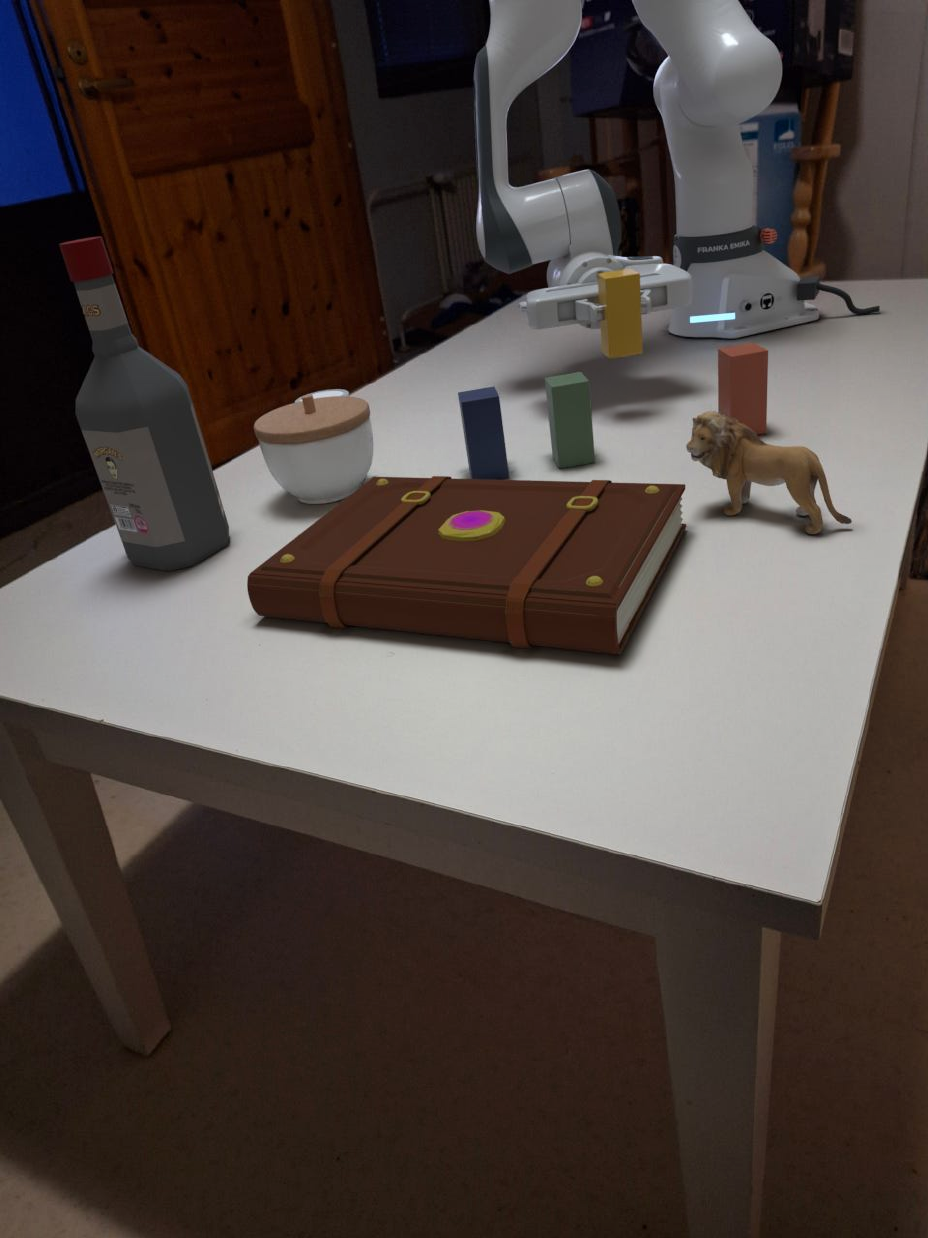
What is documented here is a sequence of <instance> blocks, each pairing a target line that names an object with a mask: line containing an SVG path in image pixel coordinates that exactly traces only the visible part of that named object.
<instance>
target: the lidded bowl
mask: <svg viewBox="0 0 928 1238" xmlns="http://www.w3.org/2000/svg"><path fill="white" fill-rule="evenodd" d="M309 394H310V393H309ZM301 397H302V401H300V402H296V403H295V402H293V403H290V404H289V403H288V404H285V405H283V406H280V407H278V408H275V409H273V410H271V411H269V412H267V413H265V414H263V415H262V416H260V417H259V418H258V419H256V420H255V421H254V425H253V430H254V434H255V437H256V439H257V440H258V444H259V447H260V451H261V454H262V457H263V459H264V463H265V464H266V467H267V468H268V470H269V472H270V475H272V477H273V479H274V480H275V481H276V483H277V484H278V485H279V486H280V487H281V488H282V489H283V490H284V491H286V492H288V493H289V494H290V495H292V496H294V497H296V498H297V500H298V501H299V502H300V503H303V504H306V505H324V504H330V503H335V502H339V501H343V500H344V499H346V498H347V497H348V496H350V495H351V494H352V493H353V492H355V491H356V490H357V489H358V488H360V487H361V484H362V482H363V481H364V480H365V478H366V477H367V475H368V473H369V472H370V469H371V467H372V463H373V458H374V445H375V444H374V433H373V426H372V421H371V408H370V405H369V402H368V401H366V400H365V399H364V398H362V397H356V396H350V395H349V396H332V397H322V398H315V399H313V395H311V394H310V395H307V394H305V395H302V396H301Z"/></svg>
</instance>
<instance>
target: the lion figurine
mask: <svg viewBox="0 0 928 1238" xmlns="http://www.w3.org/2000/svg"><path fill="white" fill-rule="evenodd" d="M691 420H692V427H691V439H690V440H689V441H688V442H687V443H686V445H685V448H686V451H687V452H688V453H690V458H691V460H692V461H693V462H699V463H700V464H701V465H702V466H704V467H706V468H708V469H709V470H711V472H712V476H713V477H715V478H718V479H723V480H726V486H727V492H728V495H729V498H730V501H731V505H728V506H726V507H725V508H724V510H723V512H724V514H725V515H726V516H735V515H737V514H739V513H740V512H741V510H742V508H743V505H745V504H747V503H749V501H750V498H751V488H752V483H754V484H757V485H761V486H765V487H775V486H780V485H783V484H785V487H786V489H787V491H788V493H789V495H790V496H791V498H792V500H793V501H794V502H795V503H796V504H797V505H798V507H797V508H796V509H795V514H796V515H798V516H809V517H810V519H811V521H812V522H811V523H810V522H809V523H807V524H806V525H805V533H806V534H808V535H816V534H818V533H820V532H821V531H822V529H823V526H824V522H823V515H822V509H821V507H820V506H819V505H818V504H817V501H816V497H815V490H816V486H817V484H819V487H820V491H821V493H822V497H823V500H824V501H823V502H824V503H825V505H826V508H827V510H828V512H829V513H830V515H831V516H832V517H833V518H834V520H835V521H836V522H838V523H839V524H842V525H843V524H844V525H849V524H852V523H853V521H852V519H851V518H850V517H848V516H847V515H844V514H842V513H840V512H839V511H838V510H836V508H835V507H834V505H833V501H832V497H831V494H830V490H829V484H828V480H827V476H826V473H825V470H824V468H823V466H822V464H821V462H820V458H819V457H818V455H817V454H816V452H814V451H813V450H811V449H809V448H808V447H805V446H803V445H795V446H784V445H783V446H781V445H773V444H769V443H766V442H765V441H763V440H762V439H761V438H760V437H759V436H758V435H757V434H756V433H755V432H754V431H753V430H752V429H750V428H749V427H747V426H746V425H745V424H741V423H739V422H738V420H737V419H735V418H733V417H730V416H728V415H724V413H718V411H714V410H713V411H712V410H711V411H705V412H703V413H702V414H698V415H697V416H696V417H692V418H691Z"/></svg>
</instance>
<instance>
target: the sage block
mask: <svg viewBox="0 0 928 1238" xmlns="http://www.w3.org/2000/svg"><path fill="white" fill-rule="evenodd" d="M544 385H545V396H546V403H547V415H548V424H549V433H550V434H549V435H550V444H551V454H552V458H553V460H554V462H555V463H556V465H557V467H558V468H559V469H564V468H571V467H577V466H583V465H587V464H593V463H596V456H595V455H596V454H595V443H594V442H595V441H594V440H595V439H594V430H593V429H594V428H593V416H592V402H591V389H590V380H589V379H588V378H587V377H586V376H585V374H584V373H583V372H582V371H577V372H571V373H566V374H559V375H554V376H553V375H552V376H548V377H545V378H544Z"/></svg>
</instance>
